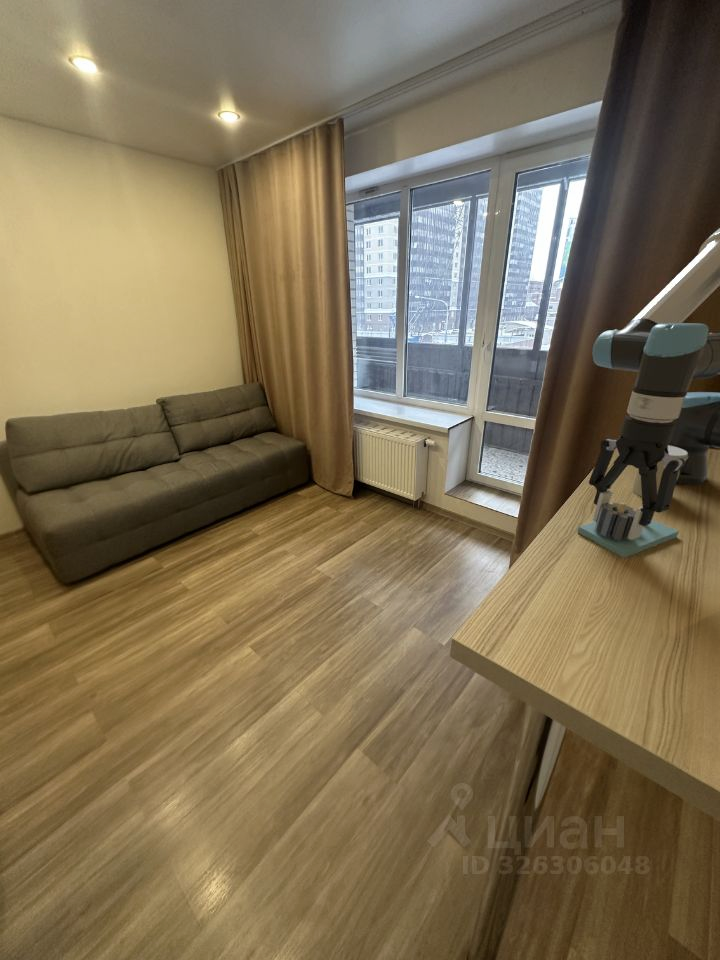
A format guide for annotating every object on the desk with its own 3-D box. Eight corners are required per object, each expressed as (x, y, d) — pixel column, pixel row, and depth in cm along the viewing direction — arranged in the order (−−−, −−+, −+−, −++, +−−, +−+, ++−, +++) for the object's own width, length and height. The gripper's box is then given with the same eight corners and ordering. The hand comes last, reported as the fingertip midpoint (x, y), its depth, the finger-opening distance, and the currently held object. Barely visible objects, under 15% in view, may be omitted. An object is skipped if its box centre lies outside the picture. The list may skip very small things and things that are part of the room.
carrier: (628, 515, 86) (639, 482, 83) (676, 537, 78) (691, 501, 74) (577, 532, 80) (586, 497, 76) (623, 558, 72) (637, 519, 68)
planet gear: (608, 521, 80) (614, 500, 78) (639, 536, 75) (647, 514, 73) (588, 527, 78) (594, 506, 76) (618, 543, 72) (626, 520, 70)
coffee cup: (680, 503, 92) (698, 457, 87) (637, 499, 93) (653, 454, 88) (660, 486, 100) (676, 444, 95) (622, 484, 102) (635, 442, 97)
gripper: (585, 407, 73) (560, 510, 83) (703, 435, 57) (655, 559, 66) (611, 403, 76) (584, 503, 86) (730, 428, 60) (680, 549, 69)
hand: (615, 528), depth 76 cm, fingers open, 7 cm apart
